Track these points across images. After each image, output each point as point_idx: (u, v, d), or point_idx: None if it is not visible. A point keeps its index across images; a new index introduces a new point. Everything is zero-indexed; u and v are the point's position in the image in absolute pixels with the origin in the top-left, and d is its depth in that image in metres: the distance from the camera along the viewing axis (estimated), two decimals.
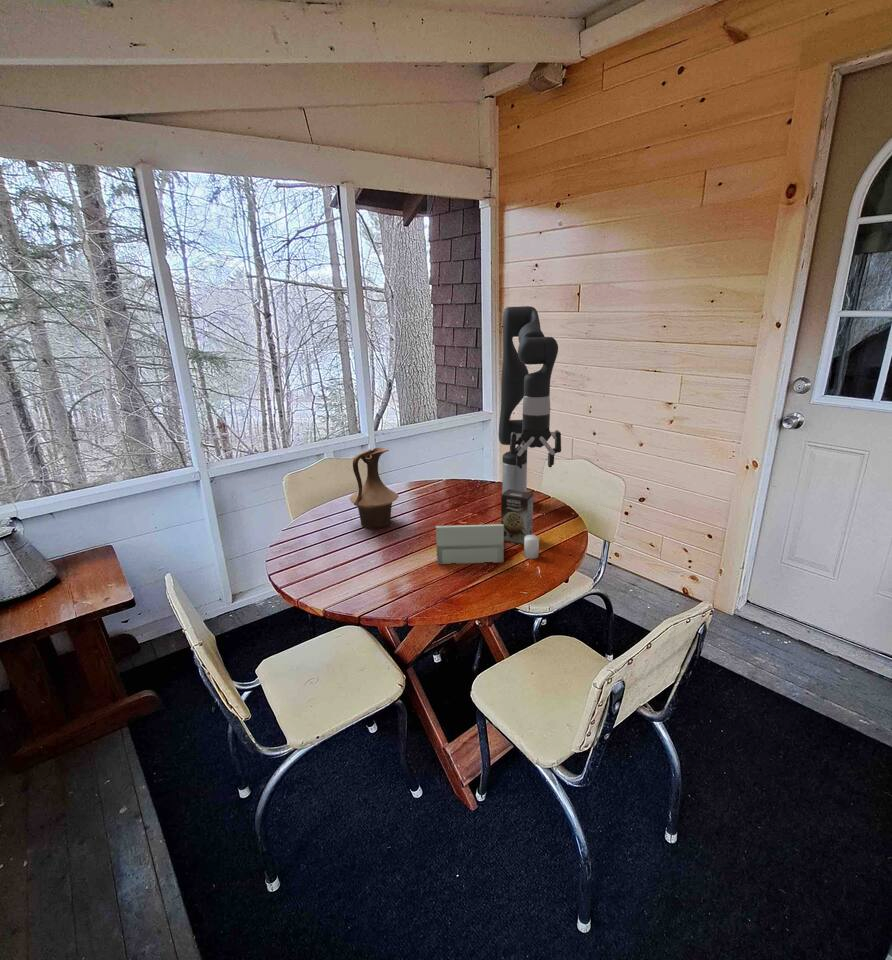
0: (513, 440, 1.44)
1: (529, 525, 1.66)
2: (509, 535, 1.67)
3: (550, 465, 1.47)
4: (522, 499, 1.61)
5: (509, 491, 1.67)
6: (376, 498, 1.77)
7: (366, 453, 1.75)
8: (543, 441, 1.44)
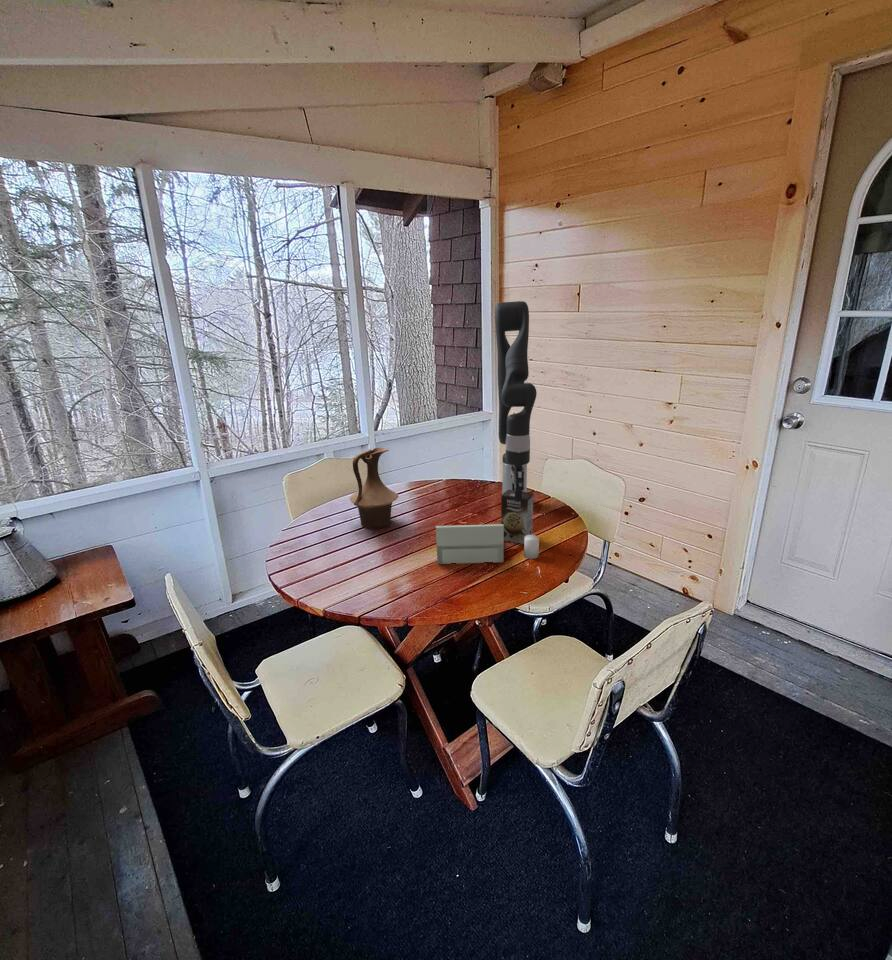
0: (523, 477, 1.57)
1: (529, 525, 1.66)
2: (509, 535, 1.68)
3: None
4: (522, 499, 1.61)
5: (509, 491, 1.67)
6: (376, 498, 1.77)
7: (366, 453, 1.75)
8: None
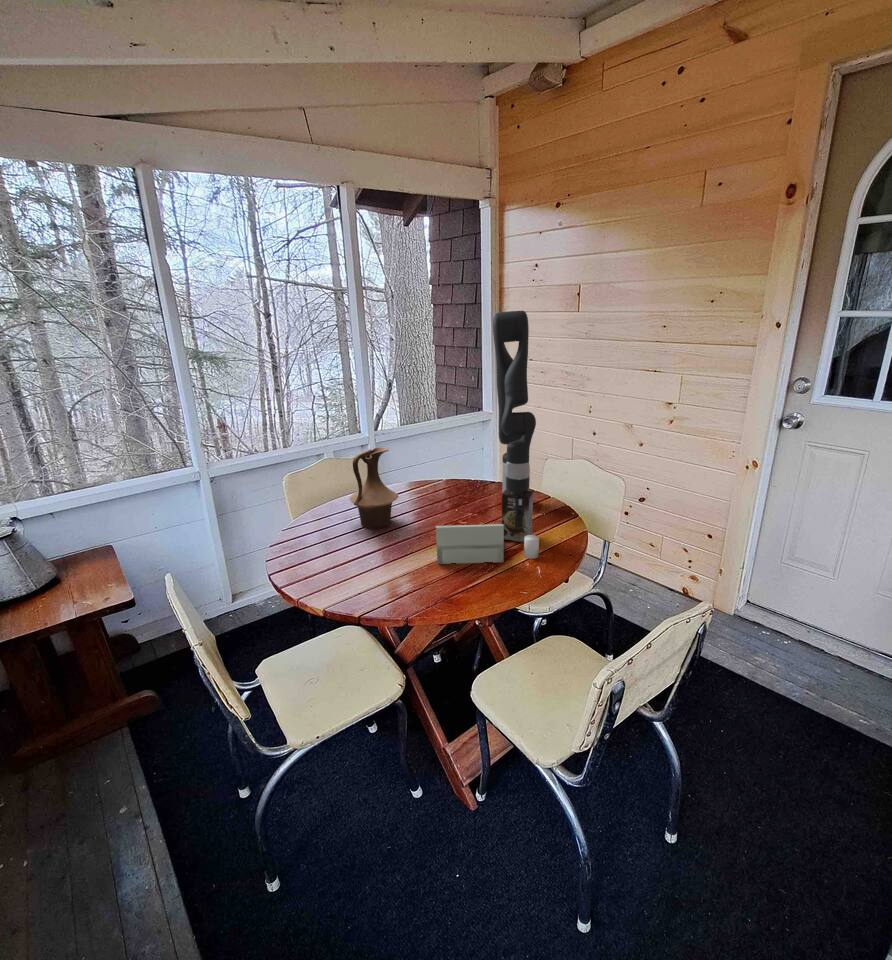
0: (523, 504, 1.59)
1: (530, 523, 1.67)
2: (510, 534, 1.67)
3: None
4: (523, 497, 1.61)
5: None
6: (376, 498, 1.77)
7: (366, 453, 1.75)
8: None
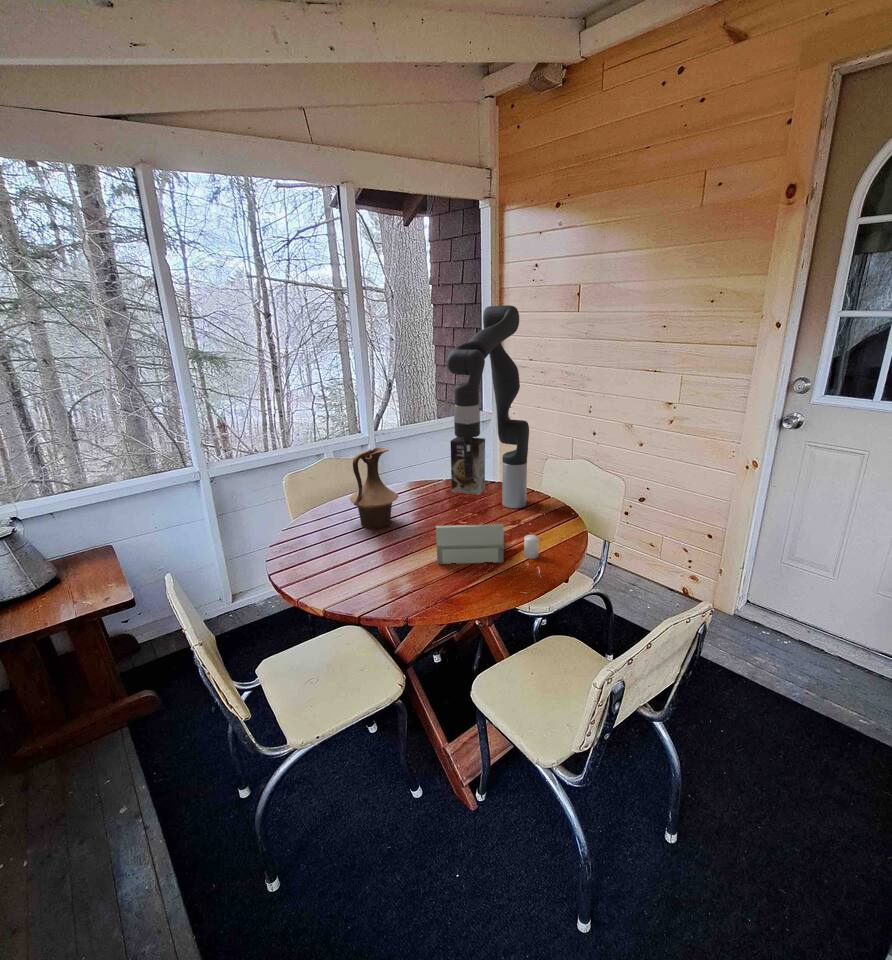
0: (472, 451, 1.47)
1: (482, 473, 1.54)
2: (460, 485, 1.54)
3: None
4: (472, 444, 1.49)
5: (459, 438, 1.54)
6: (376, 498, 1.77)
7: (366, 453, 1.75)
8: None
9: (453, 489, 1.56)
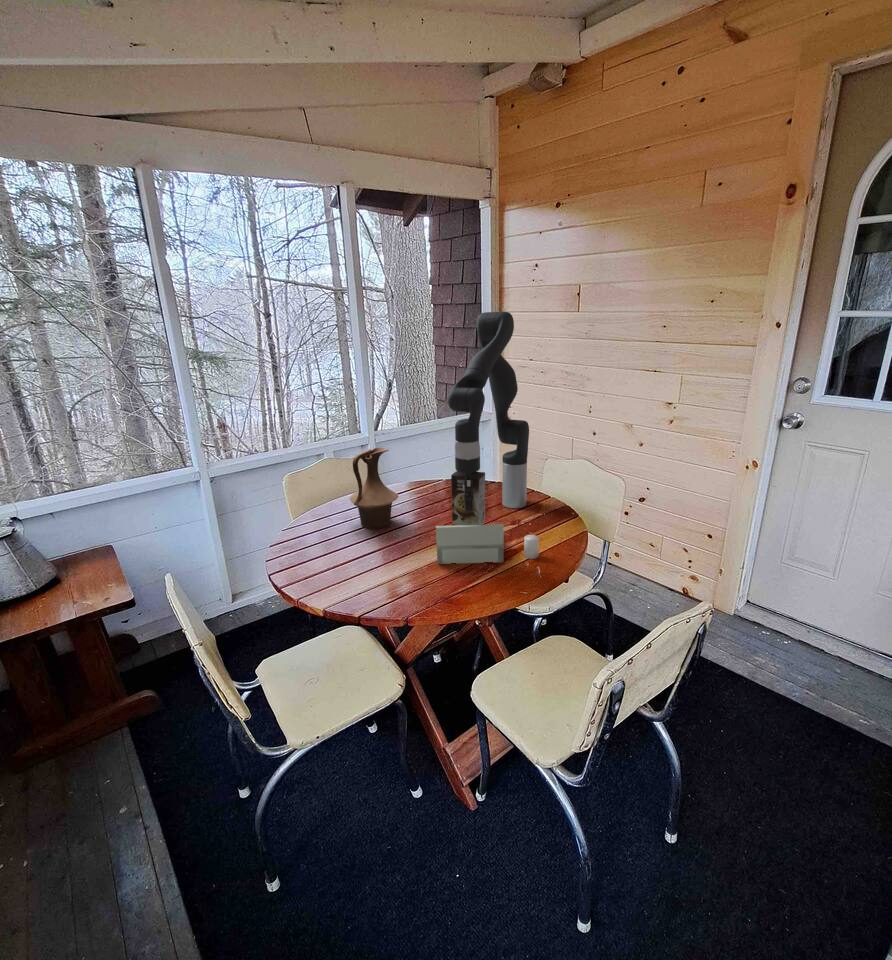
0: (472, 486, 1.50)
1: (482, 506, 1.57)
2: (461, 518, 1.58)
3: None
4: (473, 478, 1.52)
5: None
6: (376, 498, 1.77)
7: (366, 453, 1.75)
8: None
9: (454, 521, 1.59)
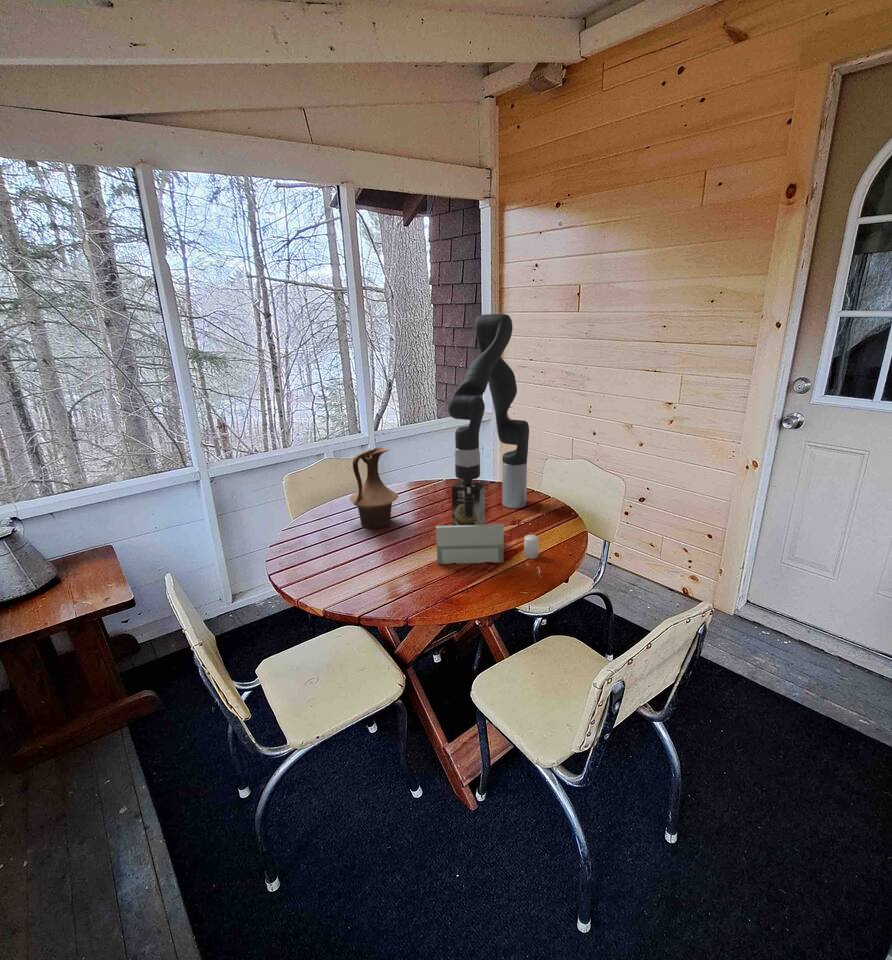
0: (472, 493, 1.51)
1: (482, 517, 1.59)
2: None
3: None
4: (473, 489, 1.53)
5: (459, 482, 1.59)
6: (376, 498, 1.77)
7: (366, 453, 1.75)
8: None
9: None
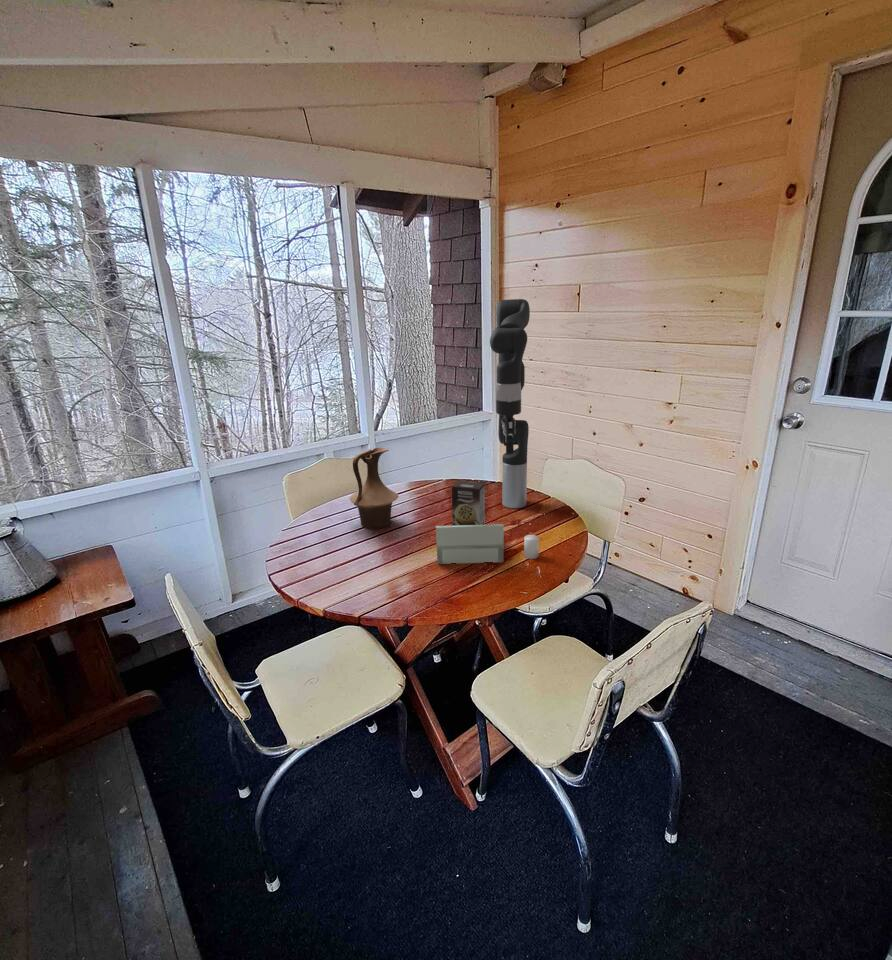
0: (514, 428, 1.50)
1: (482, 517, 1.59)
2: None
3: None
4: (473, 489, 1.53)
5: (459, 482, 1.59)
6: (376, 498, 1.77)
7: (366, 453, 1.75)
8: None
9: None
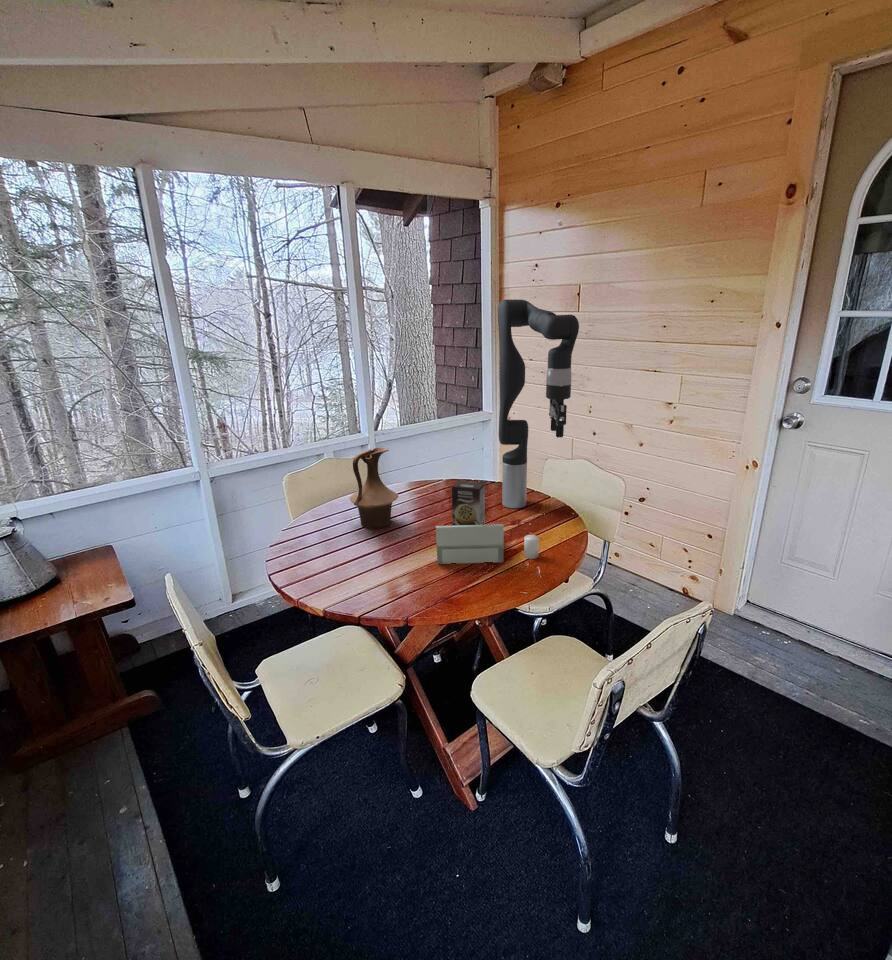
0: None
1: (482, 517, 1.59)
2: None
3: None
4: (473, 489, 1.53)
5: (459, 482, 1.59)
6: (376, 498, 1.77)
7: (366, 453, 1.75)
8: None
9: None
